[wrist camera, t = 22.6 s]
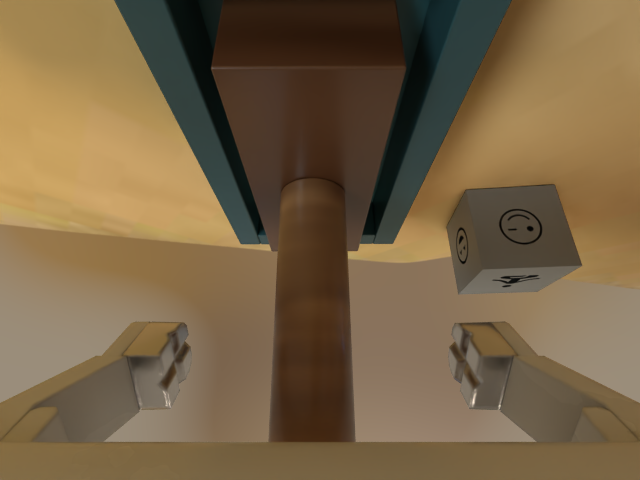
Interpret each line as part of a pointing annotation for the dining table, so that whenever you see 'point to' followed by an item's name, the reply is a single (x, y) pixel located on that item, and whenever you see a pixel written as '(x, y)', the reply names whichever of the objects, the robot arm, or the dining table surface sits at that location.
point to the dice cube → (510, 240)
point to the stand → (407, 125)
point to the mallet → (311, 177)
